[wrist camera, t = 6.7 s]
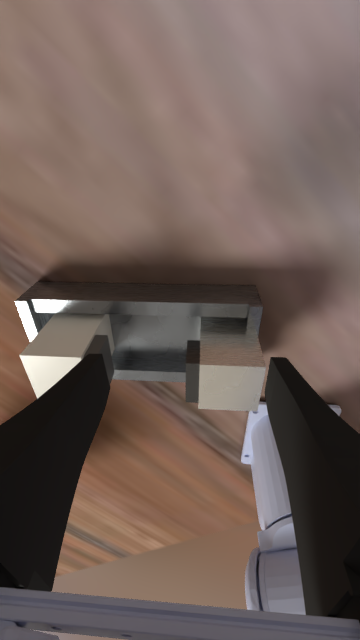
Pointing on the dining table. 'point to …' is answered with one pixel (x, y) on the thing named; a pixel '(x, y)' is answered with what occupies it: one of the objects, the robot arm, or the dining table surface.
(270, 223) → the dining table surface
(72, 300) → the rail
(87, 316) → the cream rectangular block
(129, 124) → the dining table surface
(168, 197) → the dining table surface
